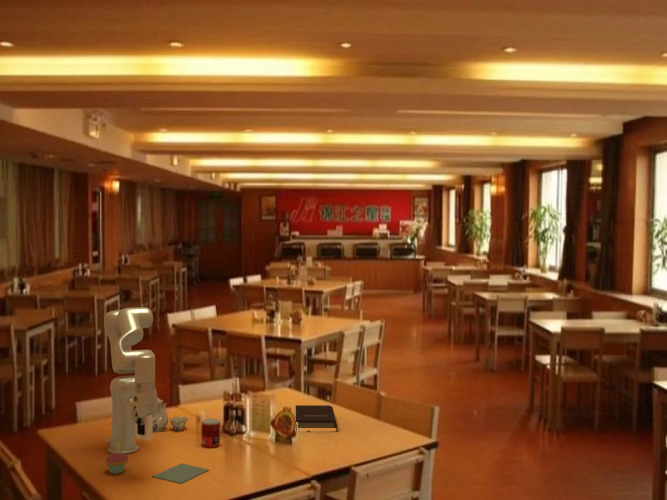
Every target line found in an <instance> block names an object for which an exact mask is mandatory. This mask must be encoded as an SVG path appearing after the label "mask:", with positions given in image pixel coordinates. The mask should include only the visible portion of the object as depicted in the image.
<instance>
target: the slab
mask: <svg viewBox="0 0 667 500" xmlns="http://www.w3.org/2000/svg"><path fill="white" fill-rule="evenodd" d="M140 420H141V418H140ZM143 425H145V435H139V434H137V424H136V423H135V439H138V440H144V441H147V442H148V441H150V440H152V439H153V432H152V426H153V413H151V414H148V416H147V417H145V418H144V424H143Z"/></svg>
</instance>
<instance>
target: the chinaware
mask: <svg viewBox="0 0 667 500" xmlns="http://www.w3.org/2000/svg"><path fill="white" fill-rule="evenodd" d="M157 398H158V412H157V413H156V414H155V415H154V417H153V426H152V433H153V432H154V433H157V432H162V431H165V430H166V429H165V427H167V426H168V423H169V421H170V423H171V424H170V425H171V426H172V428H173V429H174V430H175V431H177V432H178V431H179V432H180V431H182V430H183V428H185V427H186V425H187V422H188V421H189V419H188V417H186V416H182V417H180V416H174V417H173V418H172V417H170V418H169V416H168V412H167V408H166V407H167V402H164V401H163V399H160V398H159V397H157ZM163 402H164V403H163Z"/></svg>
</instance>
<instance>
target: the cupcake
mask: <svg viewBox="0 0 667 500" xmlns="http://www.w3.org/2000/svg"><path fill="white" fill-rule="evenodd" d="M127 463H129V457H128V456H127V455H126V454H122V453H119V440H118V442H117V453H110V454H109V455H107V457H106V459H105V463H104V464H105V465H106V466H107V467H108V469H109V470H108V471H109V472H110V474H115V475H116V474H121V473H123V471H124V469H125V466H126V464H127Z"/></svg>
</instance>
